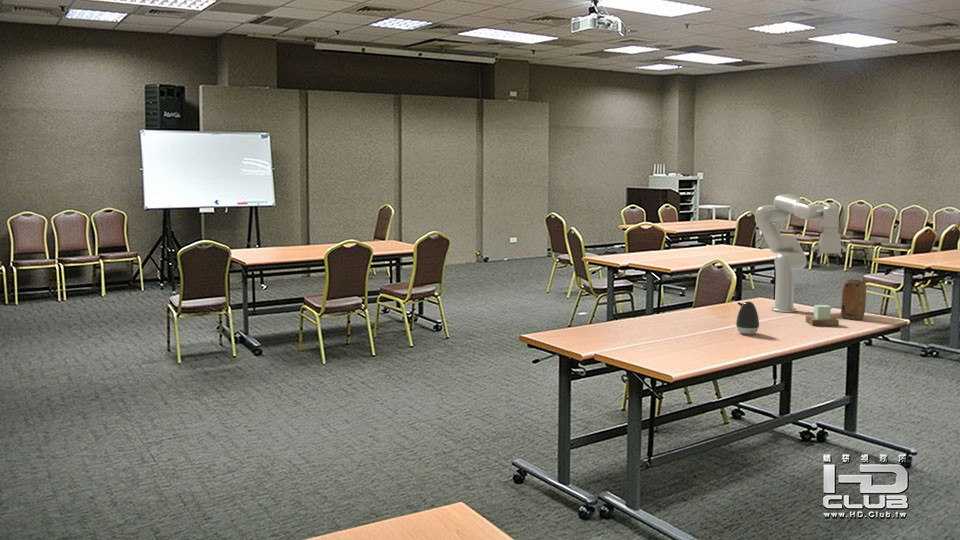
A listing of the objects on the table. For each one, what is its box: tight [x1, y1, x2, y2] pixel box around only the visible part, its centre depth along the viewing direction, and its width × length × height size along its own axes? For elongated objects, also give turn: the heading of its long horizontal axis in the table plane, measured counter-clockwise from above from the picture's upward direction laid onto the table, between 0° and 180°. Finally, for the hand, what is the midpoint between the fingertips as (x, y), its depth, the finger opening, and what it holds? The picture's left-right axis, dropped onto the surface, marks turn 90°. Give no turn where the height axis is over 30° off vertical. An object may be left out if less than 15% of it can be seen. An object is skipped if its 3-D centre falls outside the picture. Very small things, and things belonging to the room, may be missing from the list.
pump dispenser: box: [735, 301, 760, 336], centre depth 370 cm, size 10×10×15 cm
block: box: [840, 279, 867, 321], centre depth 406 cm, size 11×8×20 cm
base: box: [805, 315, 840, 328], centre depth 393 cm, size 12×12×3 cm
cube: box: [813, 304, 832, 319], centre depth 393 cm, size 6×6×6 cm
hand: (828, 264), depth 402 cm, fingers open, 9 cm apart
